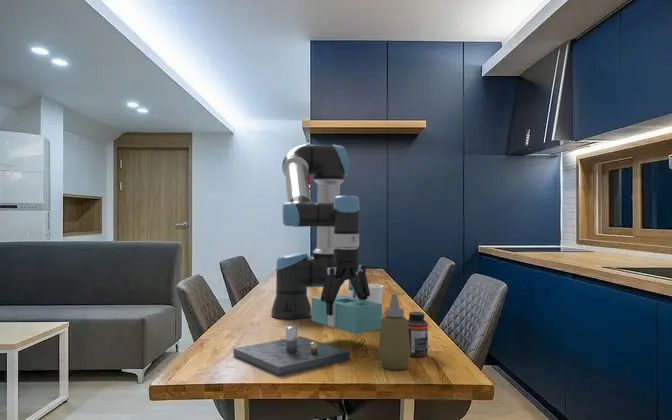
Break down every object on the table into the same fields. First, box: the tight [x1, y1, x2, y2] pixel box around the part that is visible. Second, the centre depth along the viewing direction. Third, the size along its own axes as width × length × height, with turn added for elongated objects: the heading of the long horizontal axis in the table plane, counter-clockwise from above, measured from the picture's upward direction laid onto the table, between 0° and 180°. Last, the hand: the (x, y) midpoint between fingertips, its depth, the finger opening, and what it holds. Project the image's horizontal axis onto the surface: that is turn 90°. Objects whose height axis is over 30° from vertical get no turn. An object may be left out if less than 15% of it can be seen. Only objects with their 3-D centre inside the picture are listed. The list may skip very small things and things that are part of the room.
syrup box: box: [347, 274, 359, 299], centre depth 204 cm, size 6×6×14 cm
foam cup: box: [358, 283, 384, 304], centre depth 177 cm, size 10×9×13 cm
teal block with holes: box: [311, 293, 383, 335], centre depth 148 cm, size 20×10×7 cm, turn 40°
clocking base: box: [232, 325, 351, 377], centre depth 132 cm, size 22×22×8 cm
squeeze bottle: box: [377, 293, 411, 371], centre depth 124 cm, size 8×8×18 cm
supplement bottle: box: [407, 311, 429, 358], centre depth 136 cm, size 6×6×11 cm
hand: (345, 323), depth 148 cm, fingers closed on teal block with holes, 10 cm apart
